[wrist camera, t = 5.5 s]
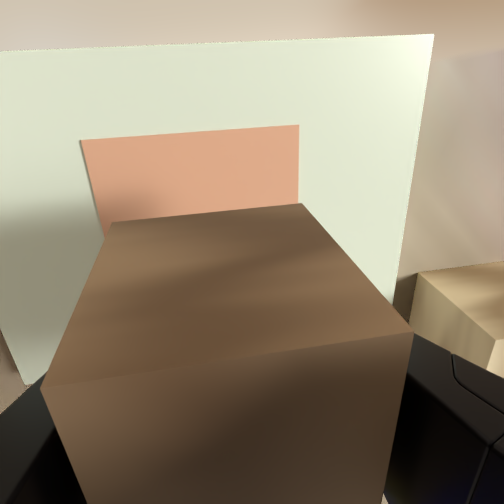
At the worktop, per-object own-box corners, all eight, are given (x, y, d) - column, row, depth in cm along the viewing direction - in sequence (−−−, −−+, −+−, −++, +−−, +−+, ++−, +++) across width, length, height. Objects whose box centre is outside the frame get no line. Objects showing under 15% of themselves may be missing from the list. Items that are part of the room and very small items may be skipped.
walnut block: (301, 202, 9) (414, 331, 5) (299, 345, 11) (376, 527, 7) (111, 221, 9) (40, 388, 4) (145, 369, 11) (120, 585, 6)
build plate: (416, 35, 13) (436, 33, 12) (378, 316, 18) (389, 330, 17) (-95, 56, 11) (-122, 55, 10) (32, 367, 16) (23, 386, 15)
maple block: (502, 260, 18) (604, 322, 14) (480, 333, 20) (564, 407, 16) (417, 271, 18) (496, 340, 13) (403, 345, 20) (468, 426, 15)
